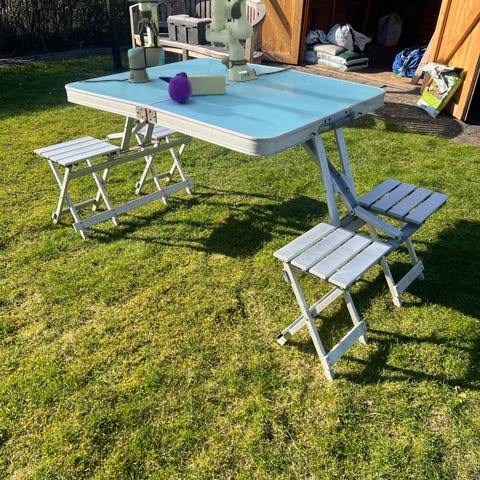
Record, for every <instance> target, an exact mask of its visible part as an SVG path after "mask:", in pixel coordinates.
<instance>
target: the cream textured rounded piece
mask: <svg viewBox="0 0 480 480" xmlns="http://www.w3.org/2000/svg"><path fill="white" fill-rule="evenodd" d="M229 59H230V55H229V54H228V56H224V57H222V59H221V64H222V65H224V66H225V68H226V69H227V71H228V70H230V67H229Z"/></svg>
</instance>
